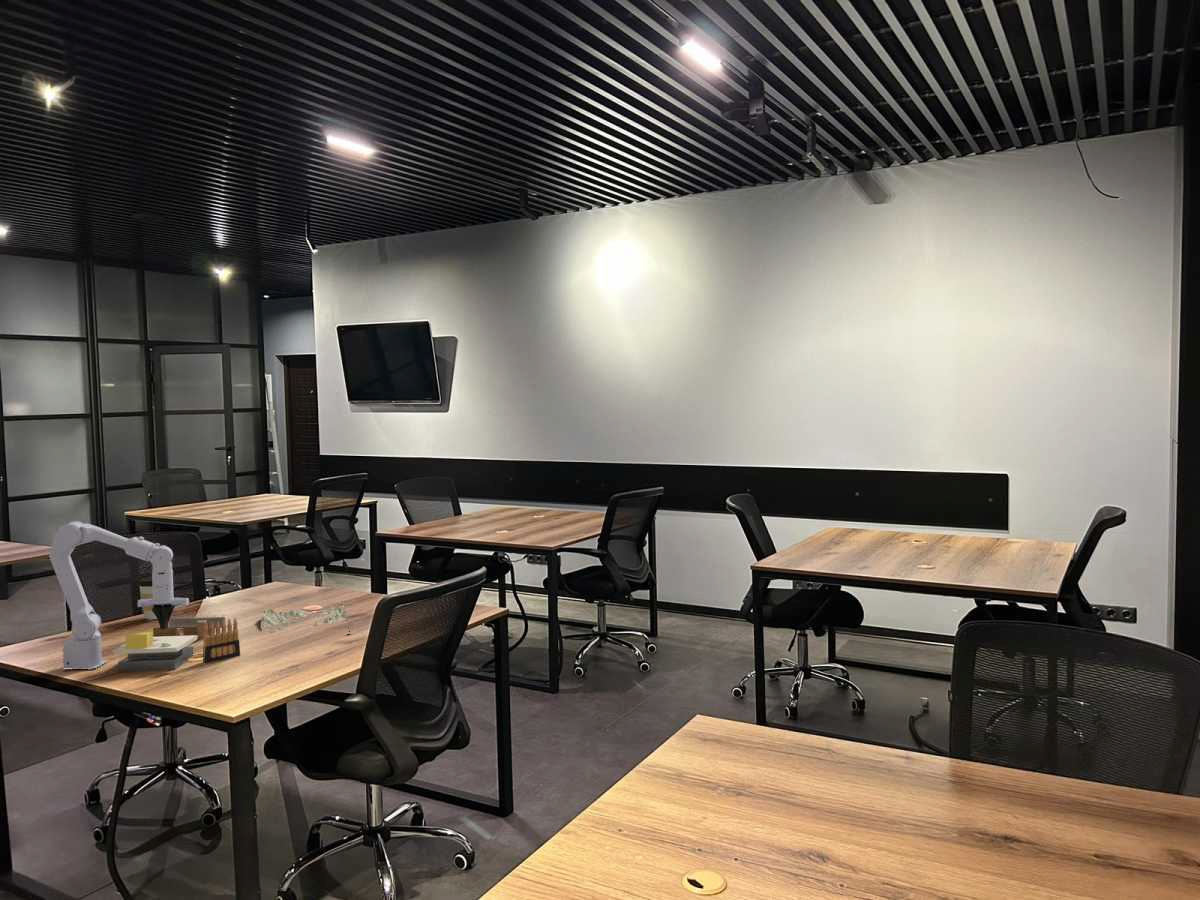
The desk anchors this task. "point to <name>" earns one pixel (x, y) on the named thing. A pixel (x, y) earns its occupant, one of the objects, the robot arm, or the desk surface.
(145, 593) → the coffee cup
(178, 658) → the leveling base
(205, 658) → the ammunition clip
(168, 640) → the plate
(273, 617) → the topographic map model
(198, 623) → the skate ramp
